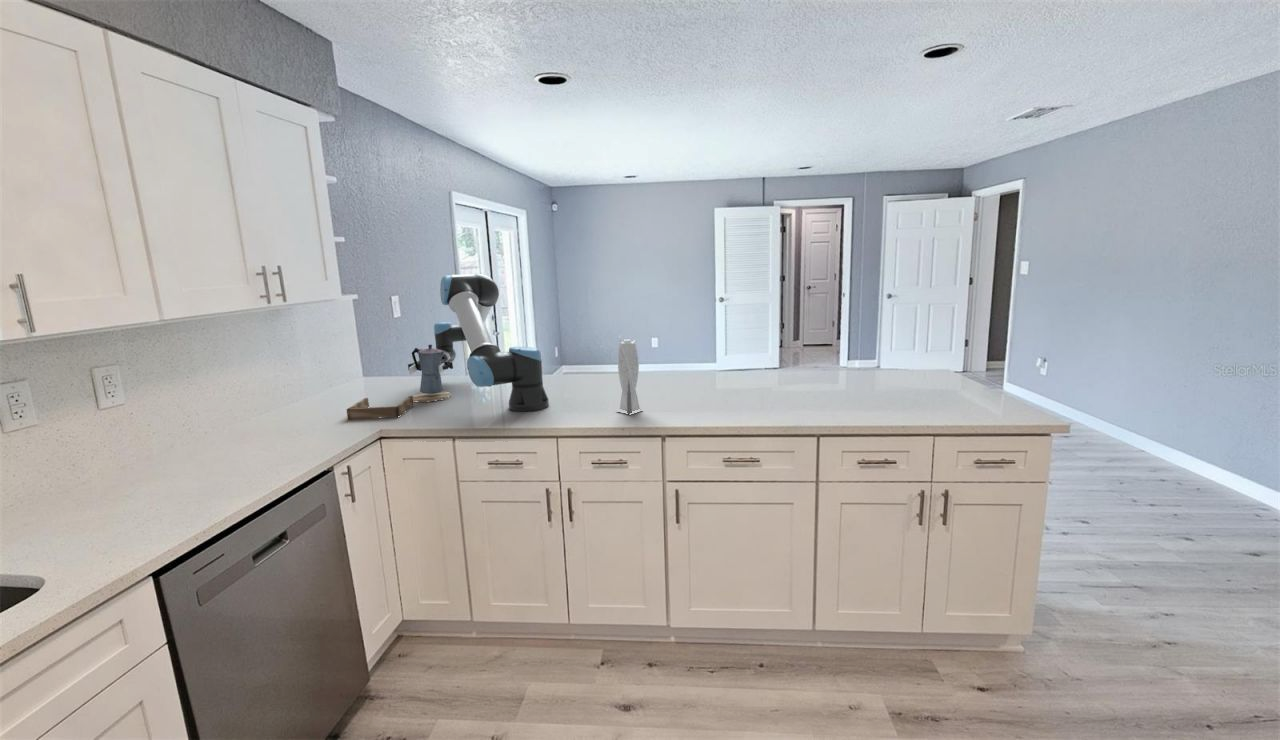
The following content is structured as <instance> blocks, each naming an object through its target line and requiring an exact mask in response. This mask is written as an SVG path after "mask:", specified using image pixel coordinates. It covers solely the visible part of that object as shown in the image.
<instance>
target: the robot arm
mask: <svg viewBox="0 0 1280 740" xmlns="http://www.w3.org/2000/svg"><path fill="white" fill-rule="evenodd" d="M439 288H440V289H439V290H440V291H439V293H440V294H439V295H440V302H441V304H442V305H443V306H448V307H449V309H450V310H451V311H452V312H454V313H455V314H456V317H457V319H458V322H459V325H458V324H457V325H455V324H454V325H453V324H452V323H451V322H450V321H441V322H436V323H434V325H433V330H434V332H433V333H434V340H435V349H439V350H442V351H443V353H444V355H443V357H442V362H441V365H440V366H438V367H439V373H440V374H441V373H443V372H444V371H445V370H448V369H449V370H450V369H451V370H452V369H454V364H453V362H454V360H455V359H456V356H457V352H456V350H455V349H454V343H458V342H465V341H466V342H467V344H468V345H467V346H468V347H469V351H470V353H469V356H468V358H467V360H466V368H467V371H468V376H469V379H470V380H471V382H472V383H473V384H474V385H475V386H476V387H480V388H483V387H484V388H485V387H488V388H489V387H492V386H499V385H505V384H511V386H512V387H511V392H510V396H509V399H508V400H509V401H508V409H509V410H511V411H514V412H533V411H540V410H543V409H547V408H548V407H549V405H550V404H549V397H548V395H547V393H546V390H545V387H544V382H543V365H542V363H543V360H542V353H541V351H540V350H539V349H538V348H536V347H535V348H534V347H528V346H510V347H509V348H508V351H504V352H502V351H501V349H500V347H499V346H498V345H496V344H495V343H493V341H492V338H491V336H490V334H489V331H488V328H487V326H486V324H485V321H486V320H487V318H488V315H489V314H490V311H491V309H492V307H494V306H495V305H496V304H497V302H498V299H499V296H500V290H499V288H498V284H497V283H496V282H495V281H494V279H492V277H490V276H488V275H486V274H483V273H473V274H472V273H469V274H468V273H467V274H450V275H449V274H448V275H444V276H443V277H441V279H440V287H439ZM417 365H418V367H419V368H421V367H420V361H419V360H417ZM407 369H408V371H409V374H410V375H412V374H414V373H416V372H417V371H418V370H417V369H416V365H415V362H414V361H413V362H411V363H407Z"/></svg>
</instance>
